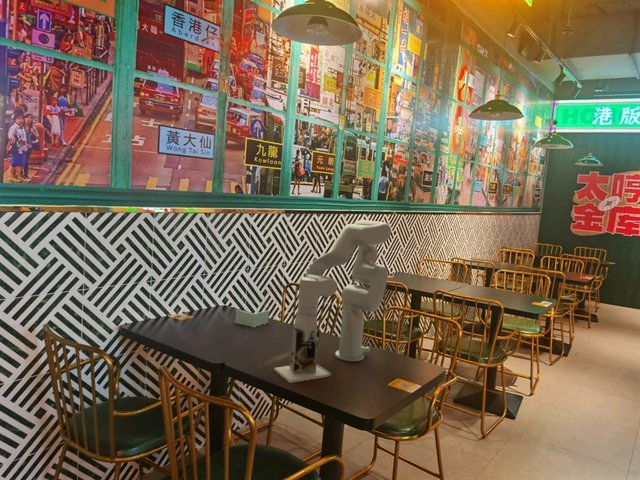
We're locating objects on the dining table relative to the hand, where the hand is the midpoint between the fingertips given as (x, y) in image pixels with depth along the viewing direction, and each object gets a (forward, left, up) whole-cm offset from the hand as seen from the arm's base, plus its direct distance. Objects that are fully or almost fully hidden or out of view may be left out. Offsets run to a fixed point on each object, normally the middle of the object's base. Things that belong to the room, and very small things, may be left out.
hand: (304, 353), depth 182 cm
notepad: (0, 0, -8) cm, 8 cm away
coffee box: (0, 0, -7) cm, 7 cm away
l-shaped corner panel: (-10, -69, -9) cm, 70 cm away
